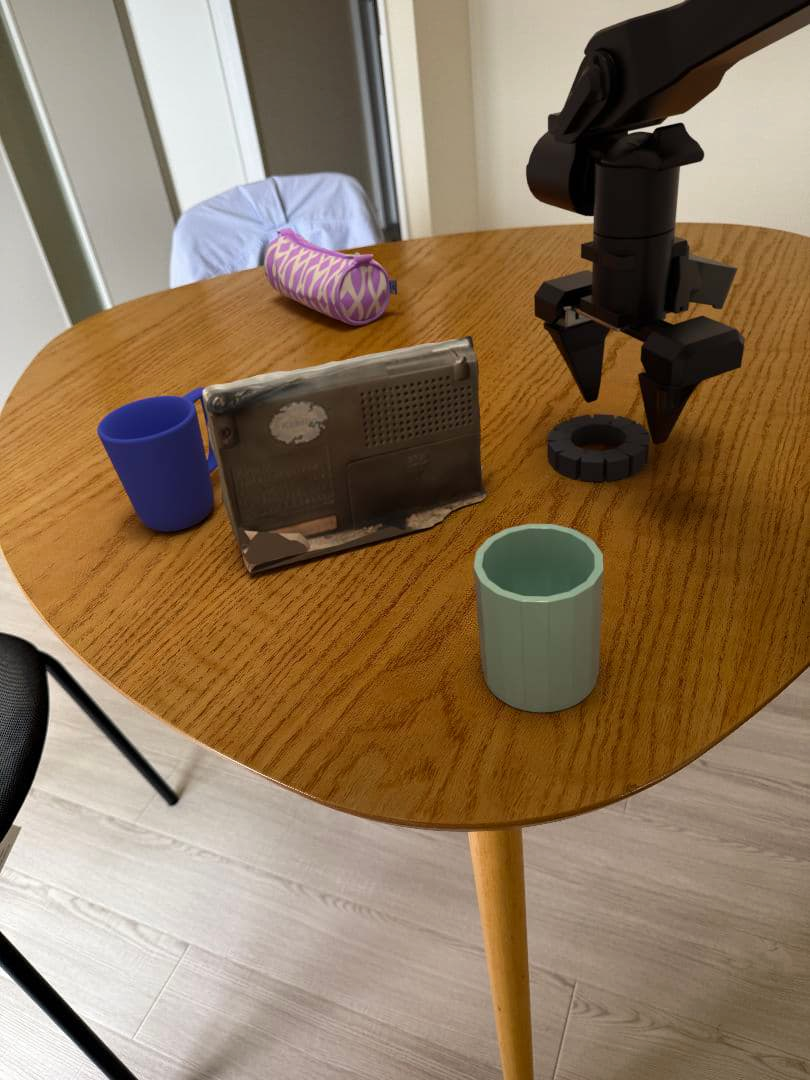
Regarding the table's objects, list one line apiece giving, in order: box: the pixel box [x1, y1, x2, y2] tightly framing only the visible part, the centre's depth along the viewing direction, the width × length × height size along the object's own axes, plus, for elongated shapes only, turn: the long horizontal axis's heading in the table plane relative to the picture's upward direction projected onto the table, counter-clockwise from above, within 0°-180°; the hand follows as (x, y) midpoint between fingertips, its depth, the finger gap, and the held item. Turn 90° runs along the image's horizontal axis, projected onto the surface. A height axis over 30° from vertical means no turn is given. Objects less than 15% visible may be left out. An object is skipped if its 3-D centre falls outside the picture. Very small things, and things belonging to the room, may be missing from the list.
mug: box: [96, 386, 218, 532], centre depth 70 cm, size 8×12×10 cm
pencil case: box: [263, 227, 398, 326], centre depth 109 cm, size 22×9×10 cm, turn 39°
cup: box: [473, 523, 604, 713], centre depth 48 cm, size 7×7×9 cm
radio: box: [202, 335, 488, 575], centre depth 63 cm, size 23×9×15 cm, turn 105°
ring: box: [546, 413, 651, 483], centre depth 71 cm, size 9×9×2 cm
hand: (623, 420), depth 65 cm, fingers open, 9 cm apart
